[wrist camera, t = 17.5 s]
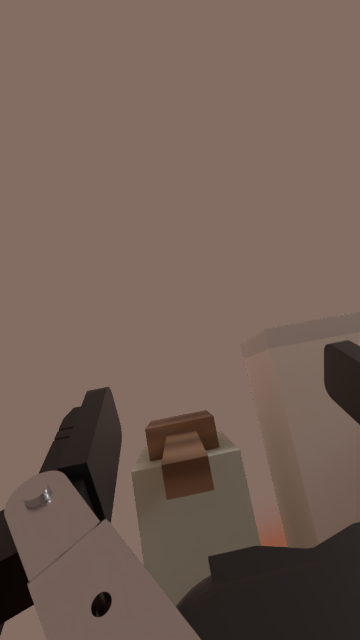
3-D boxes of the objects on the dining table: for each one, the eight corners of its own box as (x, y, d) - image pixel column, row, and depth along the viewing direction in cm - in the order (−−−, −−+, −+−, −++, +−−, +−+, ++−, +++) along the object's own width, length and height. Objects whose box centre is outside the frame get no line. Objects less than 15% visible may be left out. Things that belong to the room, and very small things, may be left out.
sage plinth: (305, 751, 22) (239, 449, 26) (174, 786, 21) (131, 471, 26) (262, 630, 32) (221, 430, 37) (175, 651, 32) (144, 446, 37)
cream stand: (513, 696, 23) (377, 308, 30) (368, 734, 22) (264, 329, 29) (404, 596, 33) (324, 329, 40) (305, 620, 33) (240, 344, 40)
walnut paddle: (245, 483, 18) (235, 432, 19) (134, 507, 18) (127, 454, 18) (211, 435, 36) (206, 410, 36) (154, 446, 35) (150, 421, 36)
